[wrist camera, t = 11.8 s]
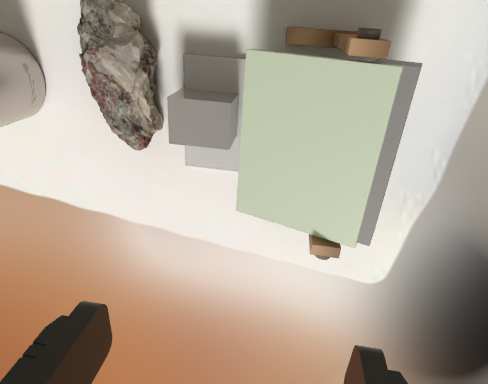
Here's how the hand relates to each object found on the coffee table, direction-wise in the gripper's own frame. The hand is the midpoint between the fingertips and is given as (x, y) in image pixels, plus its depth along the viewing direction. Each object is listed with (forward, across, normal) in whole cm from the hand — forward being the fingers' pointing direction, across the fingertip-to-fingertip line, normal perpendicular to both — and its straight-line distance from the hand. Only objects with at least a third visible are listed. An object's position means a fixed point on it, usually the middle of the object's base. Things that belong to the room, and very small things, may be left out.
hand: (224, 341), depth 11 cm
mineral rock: (+28, +16, -4) cm, 33 cm away
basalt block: (+25, +4, 0) cm, 26 cm away
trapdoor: (+22, -5, 0) cm, 23 cm away
